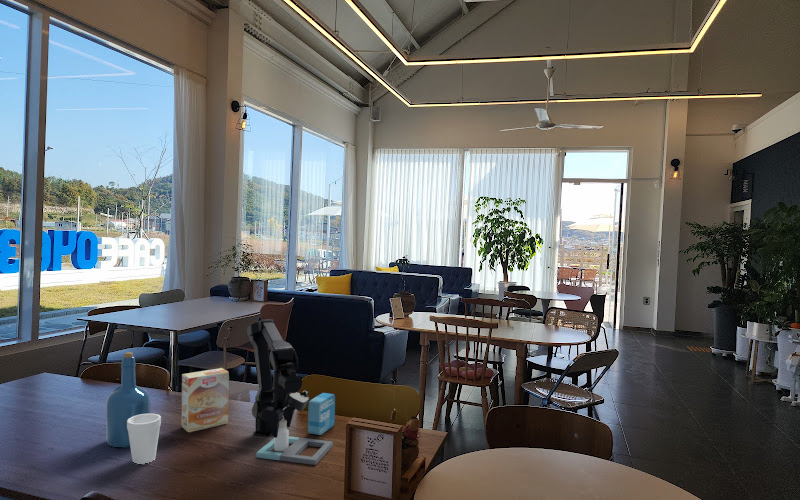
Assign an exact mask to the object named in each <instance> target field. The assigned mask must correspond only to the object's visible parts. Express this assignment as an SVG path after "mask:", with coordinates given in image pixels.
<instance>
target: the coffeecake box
mask: <svg viewBox="0 0 800 500" xmlns="http://www.w3.org/2000/svg"><path fill="white" fill-rule="evenodd" d="M229 373H230V372H229V371H228V370H227V369H225V368H223V367H219V368H214V369H206V370H201V371H194V372H193V371H192V372H189V373H182V374H181V428H183V429H184V430H185V431H186V432H187V433H188V432H189V433H193V432H196V431H200V430H205V429H208V428H213V427H218V426H223V425H226V424H229V402H230V401H229V393H230V392H229V391H230V390H229V388H230V387H229V384H230V375H229Z"/></svg>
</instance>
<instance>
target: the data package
mask: <svg viewBox="0 0 800 500" xmlns="http://www.w3.org/2000/svg"><path fill="white" fill-rule="evenodd" d="M307 404H308V406H307V407H308V408H307V410H308V411H307V412H308V413H307V432H308V434H312V435H318V436H321V435H323V434H325V432H327V431H329V430H330V429H331V428H332V427H334V426H335V423H336V422H335V421H336V420H335V418H336V417H335V416H336V411H335V410H336V396H335V394H334V393H329V392H328V393H327V392H322V393H320V394H318V395H316V396H315V397H313V398H312V399H309V402H308V403H307Z"/></svg>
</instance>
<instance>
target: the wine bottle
mask: <svg viewBox="0 0 800 500" xmlns="http://www.w3.org/2000/svg"><path fill="white" fill-rule="evenodd" d="M135 358H136V357H135V356H134V353H133V352H131V351H128V352H124V354H123V356H122V359H121V366H120V368H121V378H120V379H121V385H119V386H118V387H116V388H114V389H113V390H112V392H110V394H109V395H108V397H107V398H106V415H105V416H106V418H105V419H106V421H105V422H106V423H105V424H106V443H107V445H110V446H109V447H111V446H113V447H112V448H114V447H123V448H124V449H125V448H130V441H129V434H128V429H127V420H128V419H129V418H131V417H133V416H136V415H140V414H151V397H150V394H149V392H148V391H147V390H146V389H145V388H143V387H139V386H138V385H137V384H136V383H137V380H136V367H137V366H136V359H135Z"/></svg>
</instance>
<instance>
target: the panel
mask: <svg viewBox="0 0 800 500" xmlns="http://www.w3.org/2000/svg"><path fill="white" fill-rule="evenodd" d="M289 444H291V445H290V446H289V447H288V449H286V450H285V451H284V452H280V451H273V450H274V438H273V439H271V440H270V441H269V442H267V443H266V444H265V445H264V446H262V447H261V448H260V449H259V450H258V451H256V455H255V456H256V458H260V459H267V460H276V461H283V462H290V463H297V464H305V465H306V464H307V465H313V466H316V465H317V464H318V463H319V462H320V461H321V460H322V458H324V457H325V455H326V454H327V453H328V452H329V451H330V450H331V449H332V448H333V447H334V441H331V440H321V439H314V438H306V437H298V436H297V437H296V436H291V435H290V436H289ZM308 447H318V448H319V449H318V450H317V451H316V452H315V453H314V454H313V455H312V456H310V455H308V456H307V455H301V453H302V452H304V450H305V449H306V448H308Z"/></svg>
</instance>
